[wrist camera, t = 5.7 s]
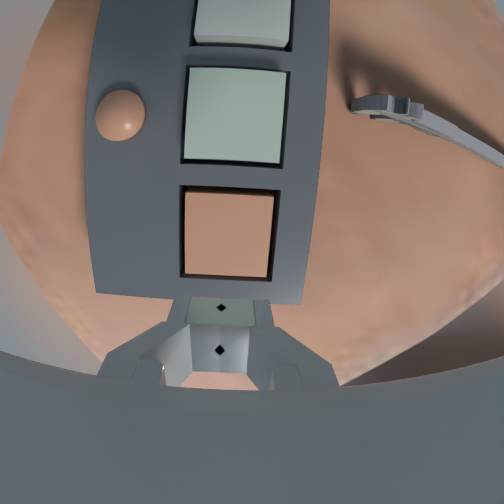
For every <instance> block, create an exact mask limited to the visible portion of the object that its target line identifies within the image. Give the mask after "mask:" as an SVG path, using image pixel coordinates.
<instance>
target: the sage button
mask: <svg viewBox="0 0 504 504" xmlns="http://www.w3.org/2000/svg"><path fill="white" fill-rule="evenodd" d="M285 84H286V73H282V72H273V71H262V70H250V69H233V68H190V76H189V87H188V99H187V113H186V129H185V148H184V158H188V159H220V160H240V161H255V162H269V163H279V159H280V147H281V135H282V123H283V111H284V97H285Z"/></svg>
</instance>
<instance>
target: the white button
mask: <svg viewBox="0 0 504 504" xmlns="http://www.w3.org/2000/svg"><path fill="white" fill-rule="evenodd" d="M290 8H291V0H199V1H198V8H197V15H196V22H195V30H194V36H195V39H196V41H197V44H198V46H217V47H242V48H256V49H267V50H277V51H283V49H284V47H285V46H286V44H287V42H288V40H289V25H290Z"/></svg>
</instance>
